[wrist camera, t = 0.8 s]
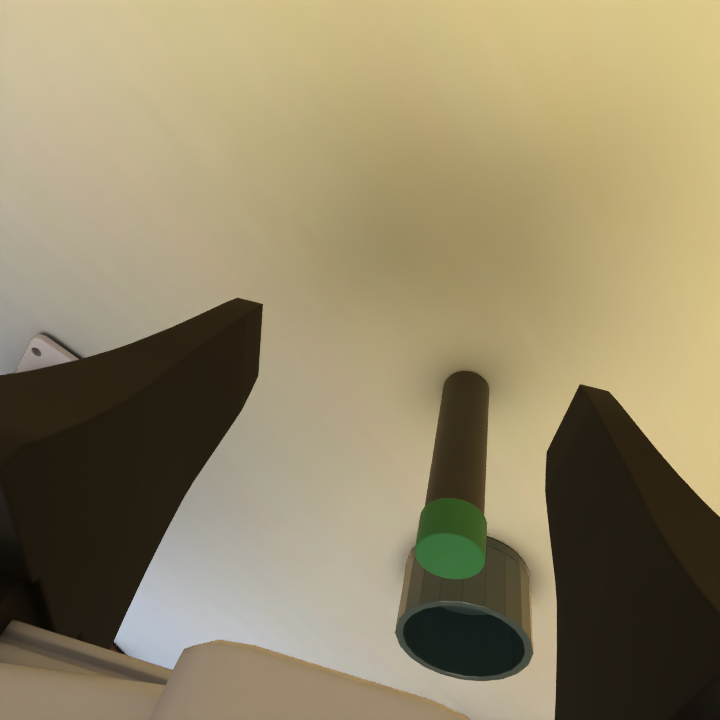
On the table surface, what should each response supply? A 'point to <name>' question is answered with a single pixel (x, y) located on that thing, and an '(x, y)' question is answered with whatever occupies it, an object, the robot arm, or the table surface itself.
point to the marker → (457, 483)
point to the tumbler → (469, 618)
